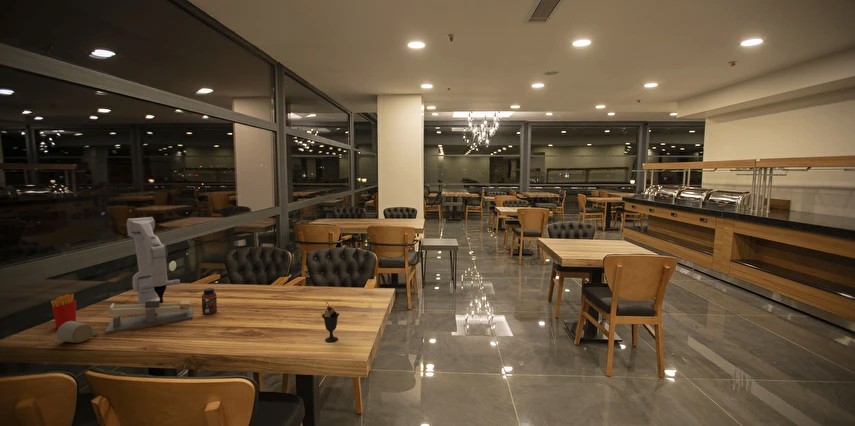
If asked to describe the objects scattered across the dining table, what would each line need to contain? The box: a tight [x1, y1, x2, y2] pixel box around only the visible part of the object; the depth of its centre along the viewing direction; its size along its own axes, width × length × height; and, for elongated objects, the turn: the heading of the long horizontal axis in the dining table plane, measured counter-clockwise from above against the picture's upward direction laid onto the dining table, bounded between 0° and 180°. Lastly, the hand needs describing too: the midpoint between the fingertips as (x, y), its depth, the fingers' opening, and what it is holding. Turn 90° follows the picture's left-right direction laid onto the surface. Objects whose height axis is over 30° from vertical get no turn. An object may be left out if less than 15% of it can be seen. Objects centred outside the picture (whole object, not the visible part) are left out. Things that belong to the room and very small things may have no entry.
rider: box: [145, 297, 160, 308], centre depth 164 cm, size 4×5×4 cm
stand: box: [104, 307, 193, 335], centre depth 164 cm, size 14×30×6 cm, turn 122°
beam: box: [108, 299, 191, 316], centre depth 164 cm, size 7×28×4 cm, turn 122°
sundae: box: [321, 301, 340, 343], centre depth 144 cm, size 7×7×15 cm
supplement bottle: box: [201, 287, 218, 315], centre depth 173 cm, size 6×6×11 cm
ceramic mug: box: [56, 320, 98, 344], centre depth 145 cm, size 11×8×8 cm
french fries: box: [50, 293, 77, 329], centre depth 159 cm, size 9×4×13 cm, turn 2°
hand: (161, 302), depth 165 cm, fingers closed, pressing on rider
